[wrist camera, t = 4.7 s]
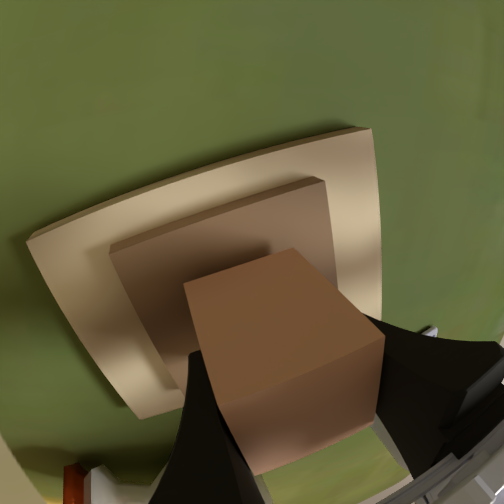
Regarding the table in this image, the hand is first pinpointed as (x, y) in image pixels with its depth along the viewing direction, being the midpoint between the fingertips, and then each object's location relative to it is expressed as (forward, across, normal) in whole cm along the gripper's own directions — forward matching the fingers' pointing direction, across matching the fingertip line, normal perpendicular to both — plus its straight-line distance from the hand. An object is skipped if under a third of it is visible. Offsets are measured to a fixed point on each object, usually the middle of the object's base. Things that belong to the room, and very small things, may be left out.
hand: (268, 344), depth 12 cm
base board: (+5, 0, 0) cm, 5 cm away
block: (+2, 0, 0) cm, 2 cm away
